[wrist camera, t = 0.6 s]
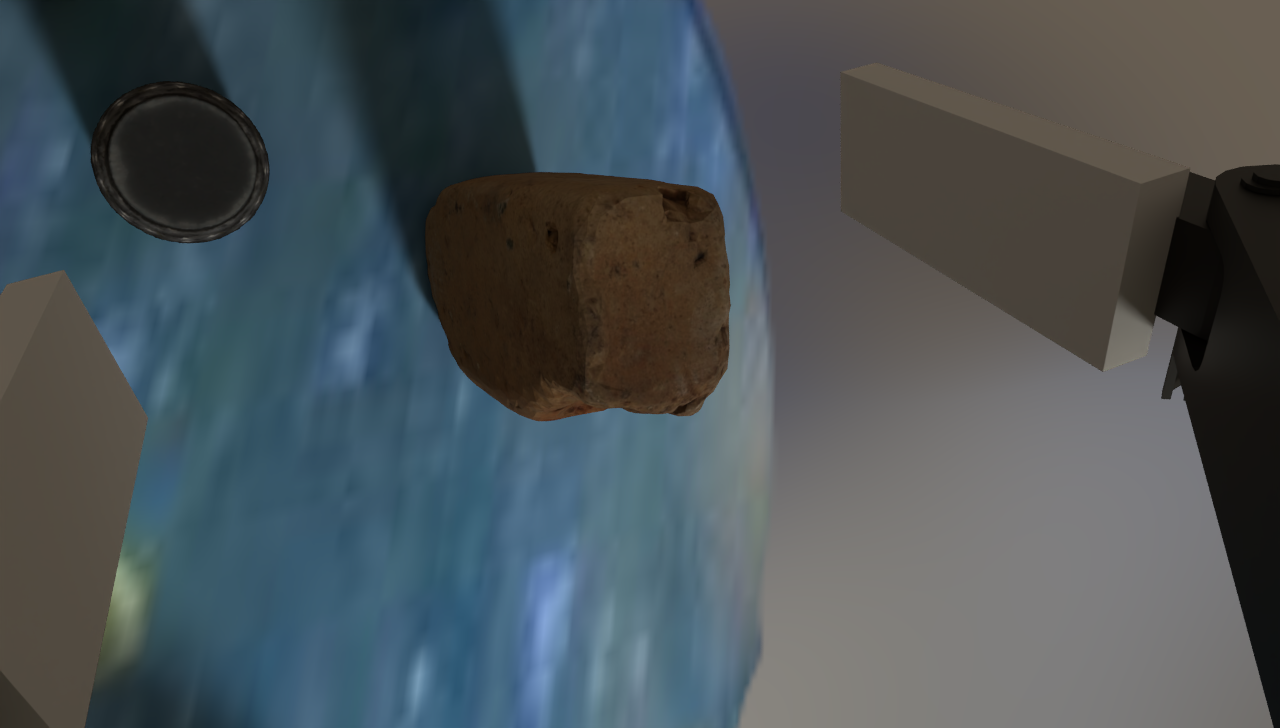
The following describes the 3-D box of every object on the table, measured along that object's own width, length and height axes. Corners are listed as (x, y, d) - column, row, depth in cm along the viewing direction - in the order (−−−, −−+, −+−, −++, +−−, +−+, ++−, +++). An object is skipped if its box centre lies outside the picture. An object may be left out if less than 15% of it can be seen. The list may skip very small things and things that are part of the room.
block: (415, 173, 45) (564, 173, 27) (549, 172, 48) (757, 170, 31) (429, 375, 47) (574, 492, 30) (556, 360, 50) (751, 457, 33)
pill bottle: (74, 177, 38) (39, 178, 28) (157, 67, 38) (149, 31, 29) (206, 257, 41) (215, 282, 31) (281, 154, 41) (311, 148, 32)
